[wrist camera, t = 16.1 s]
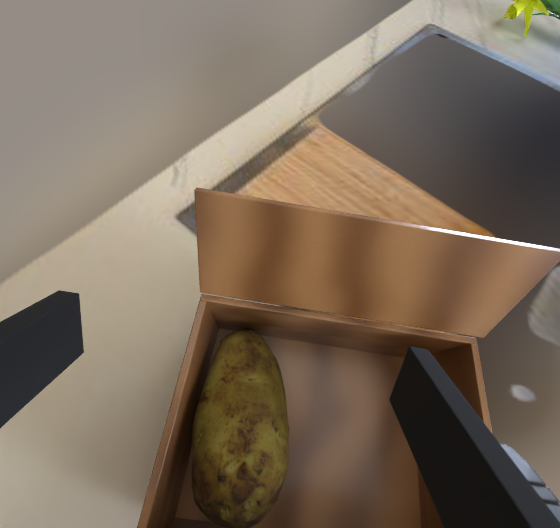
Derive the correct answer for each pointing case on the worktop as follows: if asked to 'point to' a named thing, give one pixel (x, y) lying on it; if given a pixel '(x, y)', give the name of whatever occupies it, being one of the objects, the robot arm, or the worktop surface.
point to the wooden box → (317, 418)
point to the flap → (361, 264)
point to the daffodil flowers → (542, 0)
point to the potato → (240, 433)
